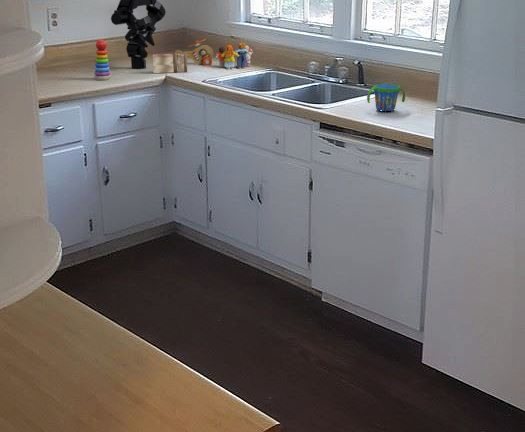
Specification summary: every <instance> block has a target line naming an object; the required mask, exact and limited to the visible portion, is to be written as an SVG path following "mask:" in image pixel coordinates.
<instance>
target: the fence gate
mask: <svg viewBox="0 0 525 432" xmlns="http://www.w3.org/2000/svg"><path fill="white" fill-rule="evenodd" d="M151 57H152V73H153V74H162V73H163V74H167V73H179V72H178V60H177V53H174V52H173V53H163V54H162V53H159V54H152V56H151Z"/></svg>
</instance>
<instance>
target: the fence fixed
mask: <svg viewBox="0 0 525 432" xmlns="http://www.w3.org/2000/svg"><path fill="white" fill-rule="evenodd" d="M177 56H178V60H177V70H178V72H177V73H188V58H187V53H183V54H177Z"/></svg>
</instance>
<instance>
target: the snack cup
mask: <svg viewBox="0 0 525 432" xmlns="http://www.w3.org/2000/svg"><path fill="white" fill-rule="evenodd" d="M400 90H401V91H402V98H401V102H402V103H405V100H406V92H405V90H404V89H403V88H402V87H400V85H397V84H393V83H377V84H374V85H373V87H371V88H370V89H369V90H368V92H367V96H366V101H367V103H368V104H370V103H371V102H370V101H371V100H370V98H371V92H372V91H374V100H375V101H374V102H375V109H377V110H382V111H392V110H394V109H395V110H396V106H397V102H398V96H399V93H400ZM377 110H376V111H377ZM395 110H394V111H395Z"/></svg>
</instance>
